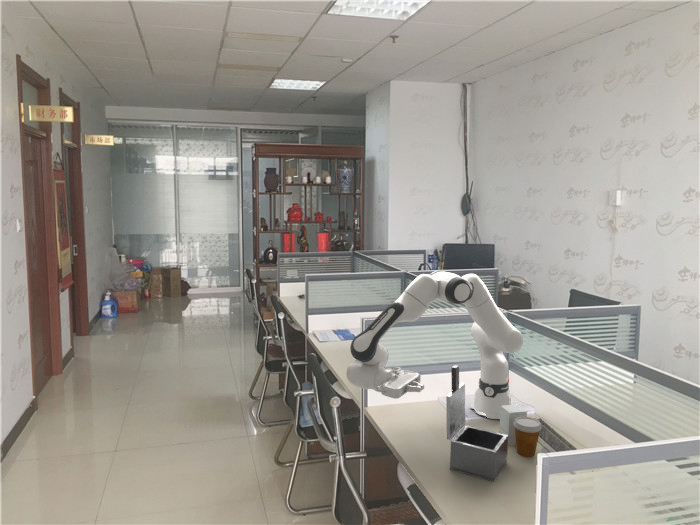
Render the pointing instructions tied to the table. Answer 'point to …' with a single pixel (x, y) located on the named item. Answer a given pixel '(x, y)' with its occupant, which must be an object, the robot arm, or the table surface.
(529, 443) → the disposable coffee cup
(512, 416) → the supplement box
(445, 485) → the table surface
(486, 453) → the open gray square box
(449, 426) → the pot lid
